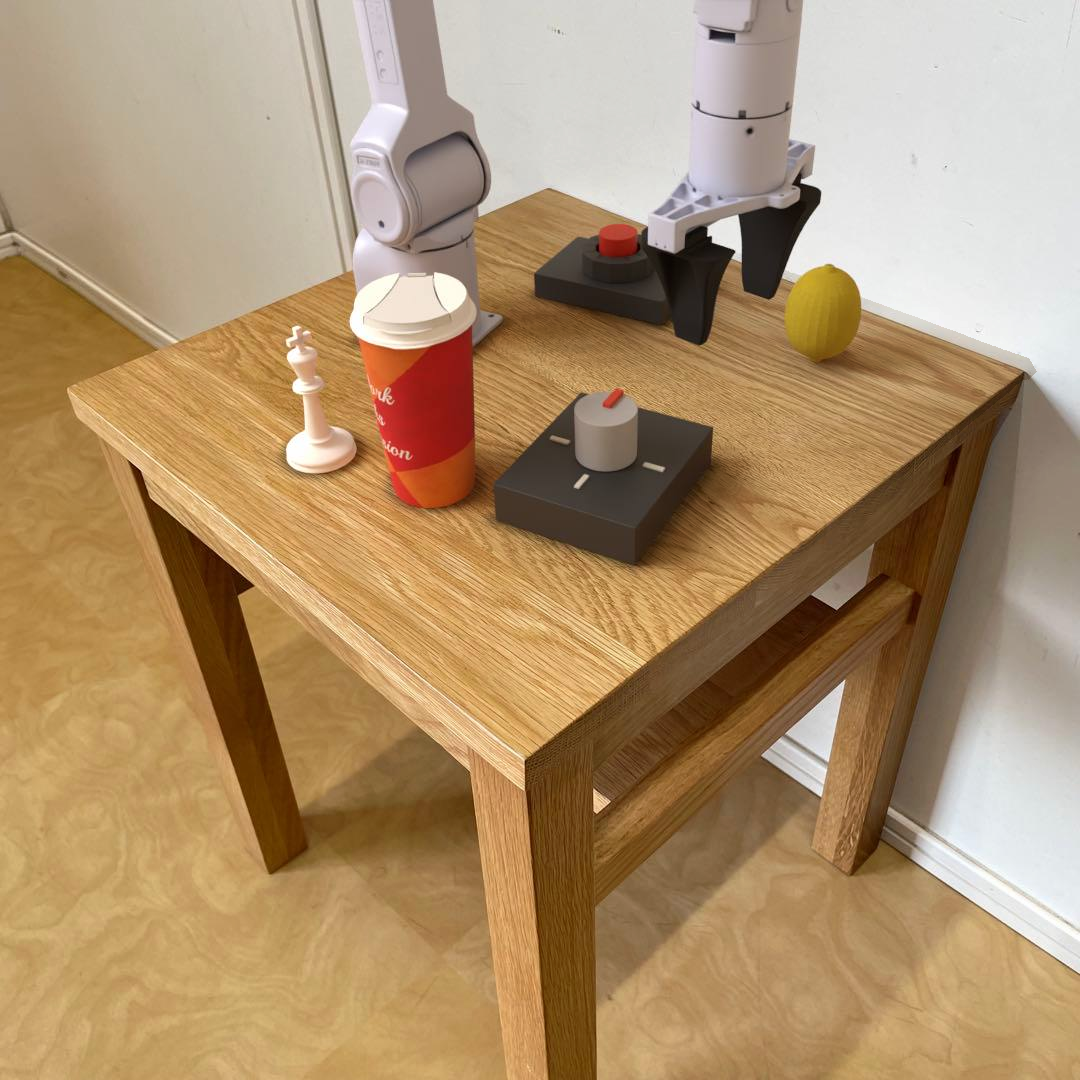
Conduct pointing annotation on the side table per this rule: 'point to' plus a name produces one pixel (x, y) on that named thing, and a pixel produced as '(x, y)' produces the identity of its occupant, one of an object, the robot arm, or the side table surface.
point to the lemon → (823, 312)
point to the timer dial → (606, 431)
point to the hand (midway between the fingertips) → (725, 315)
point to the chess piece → (314, 417)
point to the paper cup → (421, 382)
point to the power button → (618, 240)
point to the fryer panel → (604, 486)
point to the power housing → (604, 281)
